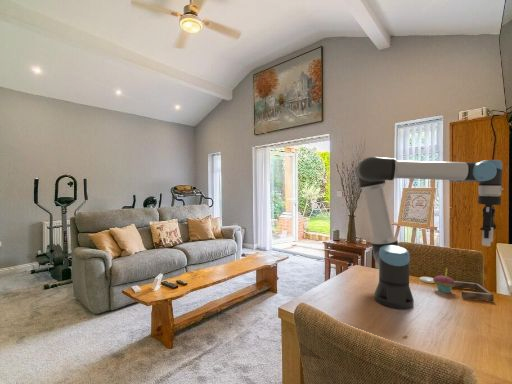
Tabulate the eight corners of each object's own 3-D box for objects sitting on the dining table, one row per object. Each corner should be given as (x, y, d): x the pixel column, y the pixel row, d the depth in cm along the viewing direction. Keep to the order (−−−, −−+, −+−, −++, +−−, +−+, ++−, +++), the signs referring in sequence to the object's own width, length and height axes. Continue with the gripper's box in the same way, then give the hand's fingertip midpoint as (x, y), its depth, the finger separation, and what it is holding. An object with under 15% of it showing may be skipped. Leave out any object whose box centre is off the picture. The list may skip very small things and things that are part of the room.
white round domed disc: (421, 282, 136) (421, 280, 136) (417, 277, 144) (417, 276, 144) (439, 284, 134) (439, 282, 134) (434, 279, 141) (434, 277, 141)
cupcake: (459, 294, 121) (459, 268, 121) (441, 294, 121) (441, 268, 121) (446, 287, 130) (446, 263, 130) (429, 287, 130) (429, 263, 130)
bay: (462, 298, 117) (462, 291, 117) (450, 286, 131) (450, 280, 131) (493, 301, 114) (493, 294, 113) (477, 289, 127) (477, 283, 127)
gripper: (499, 196, 103) (497, 249, 104) (502, 195, 121) (500, 241, 121) (475, 195, 109) (472, 246, 109) (481, 194, 126) (479, 238, 127)
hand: (487, 243), depth 115 cm, fingers open, 13 cm apart
